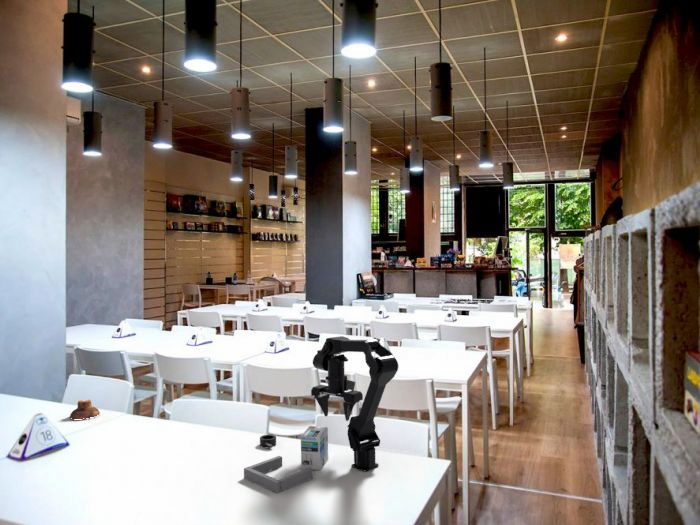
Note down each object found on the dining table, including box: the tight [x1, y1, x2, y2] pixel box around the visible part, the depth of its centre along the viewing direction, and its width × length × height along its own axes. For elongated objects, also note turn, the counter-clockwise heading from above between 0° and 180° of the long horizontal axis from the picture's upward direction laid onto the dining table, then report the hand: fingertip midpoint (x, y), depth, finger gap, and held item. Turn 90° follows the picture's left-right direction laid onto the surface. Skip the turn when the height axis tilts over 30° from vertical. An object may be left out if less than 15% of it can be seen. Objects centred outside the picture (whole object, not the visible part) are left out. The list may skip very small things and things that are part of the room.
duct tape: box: [259, 434, 277, 448], centre depth 194 cm, size 8×10×3 cm
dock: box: [243, 455, 314, 494], centre depth 164 cm, size 16×14×3 cm
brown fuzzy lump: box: [69, 399, 101, 420], centre depth 232 cm, size 12×12×7 cm
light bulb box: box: [300, 425, 329, 471], centre depth 176 cm, size 11×7×11 cm, turn 168°
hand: (336, 418), depth 184 cm, fingers open, 9 cm apart
